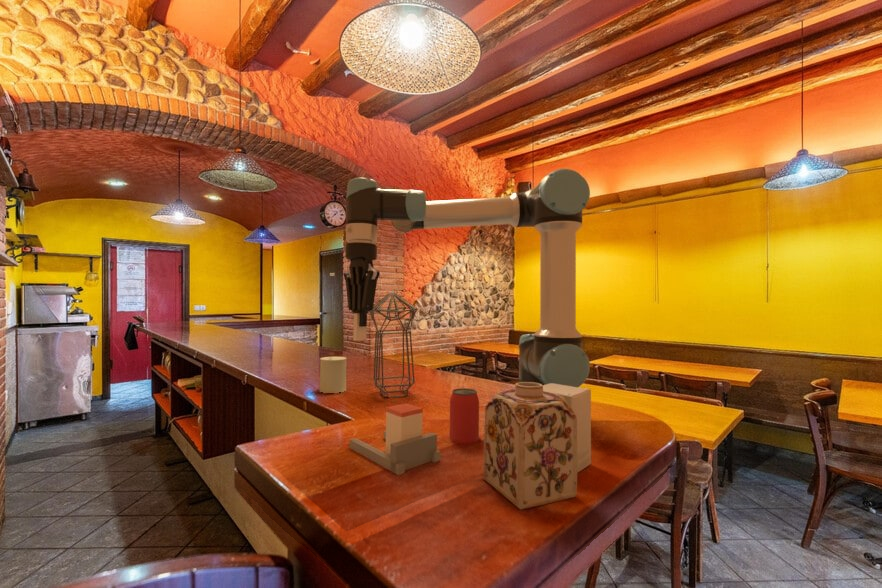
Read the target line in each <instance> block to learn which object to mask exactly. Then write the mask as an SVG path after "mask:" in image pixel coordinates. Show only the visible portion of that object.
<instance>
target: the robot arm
mask: <svg viewBox="0 0 882 588" xmlns="http://www.w3.org/2000/svg"><path fill="white" fill-rule="evenodd" d="M346 188H347V189H346V197H345V200H346V201H345V202H346V203H345V206H346V207H345V210H346V212H345V214H346V215H345V228H344V229H345V241H346V244H345V258H346V259H347V260H349V261H350V262H349V263H350V264H349V268H348V269H349V270H348V271H347V272H344V273H343V278H344V280H345V281H344V282H345V288H346V299H347V308H348V311H351V312H352V314H353V340H352V341H367V330H368V327H367V326H368V314H369V313H370V312H369V311H372V310H373V307H374V306H375V305H374V304H375V296H376V290H377V284H378V279H379V277H380V271H379V270H375V269H374V263H373V261H376V260H377V258H378V257H377V255H378V246H377V244H376V243H378V221H391V224H392V227H393V228H394V229H396V231H399V232H401V233H410V232H412V231H414V230H425V229H441V228H442V229H443V228H445V229H446V228H458V227H459V228H461V227H479V226H480V227H481V226H494V225H496V226H498V225H511V226H512V227H513V228H528V227H529V228H534V229H535V231H537V232H538V234H539V235H540V245H539V246H540V250H539V251H540V261H539V262H540V264H539V265H540V270H539V271H540V273H539V275H540V276H539V278H540V280H539V282H540V284H539V285H540V288H539V289H540V291H539V292H540V295H539V296H540V301H539V302H540V303H539V304H540V305H539V307H540V308H539V309H540V311H539V312H540V313H539V315H540V316H539V317H540V319H539V320H540V322H539V326H540V327H539V329H537V331H535V333H526V334H522V335H521V336H519V344H518V355H519V356H518V358H519V359H518V360H519V361H518V366H519V367H518V382H534V383H539V384H542V385H546V384H550V383H554V384H560V385H566V386H572V387H579V388H581V386H582V385H583V384H584V383H585V382H586V380H587V379H588V377H589V374H590V371H591V370H590V368H591V363H590V359H589V356H588V355H587V353H586V351H584V349H583V335H582V334H581V333H580V331H578V329H577V326H576V323H577V321H576V319H577V318H576V315H577V314H576V312H577V309H576V308H577V302H576V298H577V295H576V294H577V293H576V290H577V289H576V288H577V287H576V286H577V285H576V283H577V282H576V281H577V279H576V278H577V275H576V274H577V273H576V272H577V270H576V269H577V268H576V267H577V264H576V263H577V259H576V258H577V256H576V255H577V254H576V253H577V251H576V250H577V248H576V247H577V239H576V238H577V235H576V234H577V232H578V231H579V230H580V229H581V228H582V227H583V210H584V209H585V208H586V207H587V204H588V203H589V201H590V198H591V197H590V196H591V192H590V184H589V183H588V181H587V180H586V179H585V177H584V176H582V174H580V172H577V171H576V170H573V169H569V168H560V169H555V170H553V171H552V172H550V173H548V174H546V175H545V176H543V178H542V179H541V181H540V182H539V183H538V184H536V185H535V186H534V187H533V188H531V189H529V190H526V191H522V192H513V193H512V194H511V195H510V196H502V197H501V196H500V197H486V198H485V197H483V198H467V199H466V198H465V199H464V198H463V199H448V200H446V199H445V200H431V201H430V200H428V201H427V195H426V192H425V191H423V190H417V189H413V188H410V189H392V188H391V189H390V188H389V189H388V188H387V189H386V188H385V189H384V188H379V185H378V182H377V181H376V180H375V179H372V178H366V177H354V178H352V179H350V180H349V181H348V182H347V185H346ZM373 305H374V306H373Z"/></svg>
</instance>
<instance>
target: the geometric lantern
mask: <svg viewBox="0 0 882 588" xmlns="http://www.w3.org/2000/svg"><path fill="white" fill-rule="evenodd" d="M389 298H390V299H389ZM388 299H389V302H388V306H387V308H385V309H384V308H381V307H382V306H383V305H384V304H385V303H386V302H387V301H388ZM397 301H398V302H400V304H401V305H402V307H398V303H397ZM392 304H394V308H395V309H394V308H393V309H392ZM419 310H420V309H419V308H418V307H416V306H415V305H414V304H412V303H410V302H409V301H408V300H406V299H405V298H403V297H402V296H400V295H399V294H397V293H396V292H389V293H388V294H386V295H385V296H384V297H382V298H381V299H379V300H378V301H377V302H376V303H375V302H374V305H373V310H372V311H369V312H368V313H369V315H370V317H371V320H372V321H373V324H374V327H375V329H376V330H375V331H374V332H375V335H374V337H375V339H374V341H375V342H374V358H373V359H374V360H373V363H374V364H373V376H372V377H373V379H372V380H373V384H374V386H375V388H377V389H378V390H379V393H380V395H381V394H382V395H383V396H382V395H381V396H382V397H383V398H384V397H389V395H388V394H389V393H396V392H400V391H404V392H405V393H406V394H405V393H404V392H403V393H404V394H405V396H407V397H408V396H409V389H410V388H411V387H412V386H413V385H414V384H415V383H416V380H415V368H414V367H415V366H414V356H413V354H414V353H413V341H412V325H413V321H414V319H415V316H416V313H417V311H419ZM375 312H376V313H378V314H380V315H381V316H383V318H384V320H383V322H382V324H381V327H380V329H378V326H377V322H376V319H375ZM382 312H383V313H382ZM385 312H386V314H384V313H385ZM405 312H406V313H405ZM393 313H394V316H391V314H393ZM401 313H405V314H403V315H401ZM400 315H401V316H400ZM407 315H410V317H409V321H408V323H407V326H406V327H405V325H404V324H403V322H402V320H401V319H402V318H404V317H406V316H407ZM387 320H388V322H387ZM394 321H397V323H398V324H399V325H400V327H401V329H387V327H388V325H389V324H390V323H391V322H394ZM386 322H387V323H386ZM385 323H386V325H385ZM384 325H385V327H384ZM409 326H410V329H409ZM383 327H384V328H383ZM408 329H409V330H408ZM395 331H396V332H395ZM398 331H400V332H398ZM391 334H392V335H396V334H397V335H399V334H401V335H402V375H400V376H399V375H398V376H388V377H387V376H386V377H385V376H384V355H383V354H384V351H383V335H391ZM408 334H409V337H408ZM405 346H406V347H405ZM409 346H410V351H409ZM405 348H406V362H407V373H408V376H406V375H405ZM410 356H411V357H410ZM410 358H411V359H410ZM410 360H411V365H410ZM380 369H381V374H380ZM411 372H412V378H411ZM380 375H381V376H380ZM404 378H405V379H407V380H406V381H405V382H404V383H403V380H404ZM389 379H390V380H391V379H401V382H400V384H386V385H385V383H384V380H389ZM407 382H408V383H407ZM391 387H392V388H393V387H399V390H387V389H386V388H391ZM401 388H402V390H401ZM385 391H386V392H385ZM381 392H384V393H381ZM401 396H402V395H397V396H396V395H394V396H391V397H394V398H402V397H401Z"/></svg>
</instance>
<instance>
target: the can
mask: <svg viewBox="0 0 882 588" xmlns="http://www.w3.org/2000/svg"><path fill="white" fill-rule="evenodd" d="M319 360H320V361H319V362H320V363H319V366H320V367H319V368H320V369H319V371H320V373H319V375H320V377H319V391H318V392H319V393H321V392H323V393H322V394H326V393H334V394H340V393H339V392H341V393H344V391H345V392H347V356H334V355H333V356H325V357H320V358H319Z"/></svg>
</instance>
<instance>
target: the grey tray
mask: <svg viewBox="0 0 882 588" xmlns="http://www.w3.org/2000/svg"><path fill="white" fill-rule="evenodd" d="M383 440H385V441H386V429H385V430H383ZM349 449H350V450H353V451H355V452H356V453H358V454H359V455H362V456H363V457H364V458H367V459H368V460H370V461H371V462H374V463H376V464H377V465H379V466H380V467H383V468H384V469H386V470H388V471H391V472H392V473H394V474H395V475H396V476H401V475H403V474H405V473H406V471H407V470H410V469H412V468H415V467H419V466H421V465H424V464H427V463H429V462H432V463H438V462H440V461H441V450H438V434H437V433H434V432H429V433H425V434H422V435H421V436H417V437H414V438H410V439H407V440H403V441H400V442H396V443H393V444H391V450H390V455H388V454H386V452H384V451H382V450H381V449H378V448H377V447H375V446H372V445H370V444H368V443H367V442H364V441H362V440H361V439H359V438H357V437H354V438H349Z"/></svg>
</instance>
